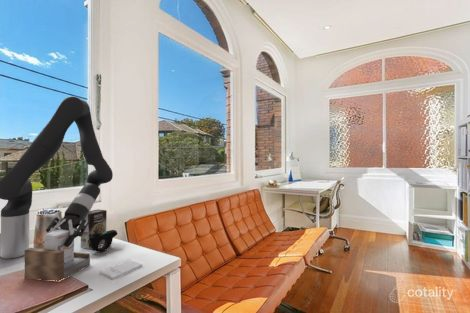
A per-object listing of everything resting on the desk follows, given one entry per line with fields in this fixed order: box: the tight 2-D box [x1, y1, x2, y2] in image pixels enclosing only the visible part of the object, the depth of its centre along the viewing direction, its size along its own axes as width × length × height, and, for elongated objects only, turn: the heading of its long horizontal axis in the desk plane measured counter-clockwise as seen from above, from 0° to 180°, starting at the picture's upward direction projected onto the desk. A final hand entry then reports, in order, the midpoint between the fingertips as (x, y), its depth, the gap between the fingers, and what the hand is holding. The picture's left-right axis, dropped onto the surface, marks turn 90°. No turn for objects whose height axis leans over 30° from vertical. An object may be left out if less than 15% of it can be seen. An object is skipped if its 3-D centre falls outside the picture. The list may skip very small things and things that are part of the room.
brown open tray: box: [24, 247, 91, 281], centre depth 94 cm, size 14×14×10 cm
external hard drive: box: [99, 259, 144, 281], centre depth 96 cm, size 2×8×12 cm
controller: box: [89, 229, 118, 253], centre depth 114 cm, size 4×12×10 cm, turn 149°
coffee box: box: [80, 208, 108, 250], centre depth 121 cm, size 9×6×16 cm
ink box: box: [43, 228, 75, 264], centre depth 94 cm, size 9×5×12 cm, turn 169°
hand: (55, 245), depth 93 cm, fingers open, 8 cm apart
